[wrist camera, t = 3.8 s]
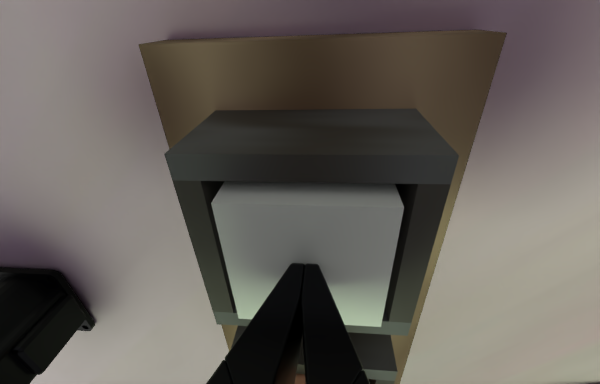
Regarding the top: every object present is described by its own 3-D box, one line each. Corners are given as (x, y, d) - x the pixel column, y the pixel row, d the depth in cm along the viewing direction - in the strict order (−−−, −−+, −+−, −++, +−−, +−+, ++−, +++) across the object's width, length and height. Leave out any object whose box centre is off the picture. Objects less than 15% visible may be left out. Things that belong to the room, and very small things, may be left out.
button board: (242, 346, 23) (218, 439, 18) (166, 40, 12) (39, 60, 6) (393, 356, 22) (413, 458, 17) (478, 29, 10) (618, 44, 5)
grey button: (261, 243, 14) (238, 318, 10) (247, 144, 11) (211, 203, 8) (367, 246, 13) (381, 327, 10) (379, 145, 11) (404, 207, 7)
